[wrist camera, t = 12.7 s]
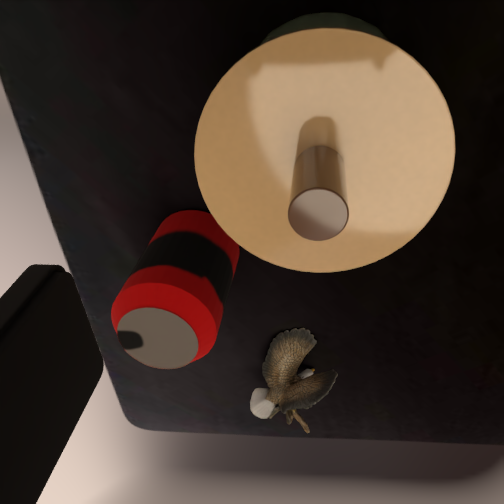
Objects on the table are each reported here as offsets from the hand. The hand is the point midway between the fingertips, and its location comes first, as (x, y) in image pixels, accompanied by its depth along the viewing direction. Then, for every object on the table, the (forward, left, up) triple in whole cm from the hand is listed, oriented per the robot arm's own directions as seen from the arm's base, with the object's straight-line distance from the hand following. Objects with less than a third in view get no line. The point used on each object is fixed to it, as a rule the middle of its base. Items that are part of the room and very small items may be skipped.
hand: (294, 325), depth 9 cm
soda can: (+18, +3, -27) cm, 32 cm away
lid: (+2, +2, -16) cm, 16 cm away
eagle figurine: (+22, +19, -27) cm, 40 cm away
